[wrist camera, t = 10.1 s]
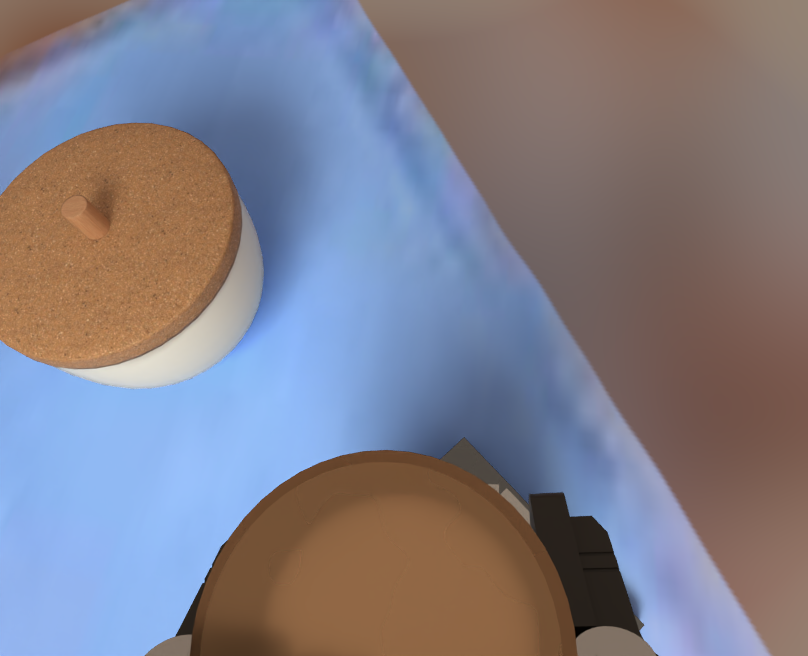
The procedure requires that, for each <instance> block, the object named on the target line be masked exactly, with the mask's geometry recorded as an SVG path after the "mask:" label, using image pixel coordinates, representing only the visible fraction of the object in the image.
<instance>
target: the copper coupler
mask: <svg viewBox="0 0 808 656" xmlns="http://www.w3.org/2000/svg"><path fill="white" fill-rule="evenodd" d="M190 656H578V654H577V646H576V637H575V629H574V624H573V620H572V615H571V611H570V607H569V603H568V599H567V596H566V593H565V591H564V588H563V585H562V582H561V580H560V577H559V574H558V572H557V570H556V568H555V566H554V564H553V562H552V560H551V558H550V556H549V554H548V552H547V550H546V548H545V547H544V545H543V544H542V542H541V541H540V539H539V538H538V536H537V535H536V533H535V532H534V530H533V529H532V527H531V526H530V525H529V523H528V522H527V521H526V520H525V519H524V518H523V517H522V515H521V514H520V513H519V512H518V511H517V510H516V509H515V507H514V506H513V505H512V504H511V503H509V502H508V501H507V500H506V499H505V498H504V497H503V496H502V495H501V494H499V493H498V492H497V491H496V490H495V489H494V488H492V487H491V486H489V485H488V484H486V483H485V482H483V481H482V480H481V479H479V478H478V477H476V476H475V475H473V474H471V473H469V472H467V471H465V470H463V469H461V468H459V467H457V466H455V465H453V464H451V463H448V462H445V461H442V460H439V459H437V458H434V457H431V456H426V455H421V454H417V453H412V452H404V451H392V450H379V451H363V452H358V453H353V454H347V455H342V456H339V457H336V458H333V459H330V460H327V461H323V462H320V463H318V464H316V465H314V466H312V467H310V468H308V469H306V470H303V471H301V472H299V473H298V474H296V475H295V476H293V477H291V478H290V479H288V480H287V481H285V482H284V483H282V484H280V485H279V486H278V487H277V488H275V489H274V490H273V491H272V492H271V493H269V494H268V495H267V496H266V497H264V498H263V499H262V500H261V501H260V502H259V503H258V504H257V505H256V506H255V507H254V508H253V509H252V510H251V511H250V512H249V513H248V514H247V516H246V517H245V518H244V519H243V520H242V522H241V523H240V524H239V526H238V527H237V528H236V530H235V531H234V532H233V533H232V535H231V536H230V537H229V539H228V541H227V543H226V544H225V546H224V548H223V549H222V551H221V553H220V554H219V556H218V558H217V559H216V562H215V564H214V566H213V568H212V570H211V572H210V575H209V577H208V579H207V581H206V584H205V587H204V590H203V593H202V596H201V599H200V602H199V605H198V608H197V613H196V618H195V622H194V627H193V632H192V639H191V649H190Z"/></svg>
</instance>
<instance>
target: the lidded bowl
mask: <svg viewBox="0 0 808 656" xmlns="http://www.w3.org/2000/svg"><path fill="white" fill-rule="evenodd" d="M263 277H264V268H263V257H262V252H261V247H260V243H259V239H258V235H257V232H256V229H255V227H254V224H253V222H252V219H251V217H250V215H249V213H248V211H247V209H246V207H245V205H244V203H243V201H242V199H241V198H240V196H239V194H238V192H237V189H236V187H235V185H234V183H233V181H232V179H231V177H230V175H229V173H228V171H227V169H226V168H225V166H224V165H223V164H222V162H221V161H220V160H219V158H218V157H217V156H216V154H215V153H214V152H213V151H212V150H211V149H210V148H209V147H208V146H206V145H205V144H204V143H203V142H202V141H200V140H199V139H197V138H195V137H193V136H192V135H190V134H188V133H186V132H183V131H181V130H178V129H175V128H172V127H168V126H163V125H158V124H153V123H127V124H116V125H111V126H107V127H103V128H99V129H95V130H92V131H89V132H86V133H83V134H80V135H78V136H76V137H74V138H72V139H70V140H68V141H66V142H64V143H62V144H60V145H58V146H56V147H55V148H53V149H51V150H50V151H48V152H46V153H45V154H43V155H42V156H41V157H39V158H38V159H37V160H36V161H34V162H33V163H32V164H31V165H29V166H28V167H27V168H26V169H25V170H24V171H23V172H22V173H20V174H19V175H18V176H17V177H16V178H15V179H14V180H13V181H12V182H11V184H10V185H9V186H8V187H7V188H6V190H5V191H4V192H3V193H2V195H1V196H0V340H1V341H2V342H4V343H5V344H6V345H7V346H9V347H11V348H13V349H14V350H16V351H18V352H20V353H22V354H23V355H25V356H27V357H29V358H31V359H33V360H35V361H38V362H41V363H45V364H48V365H51V366H53V367H55V368H57V369H59V370H62V371H64V372H66V373H68V374H70V375H73V376H76V377H79V378H82V379H85V380H89V381H92V382H95V383H98V384H102V385H107V386H114V387H121V388H129V389H150V388H158V387H164V386H169V385H174V384H177V383H180V382H183V381H186V380H189V379H192V378H193V377H195V376H197V375H199V374H201V373H203V372H205V371H207V370H208V369H210V368H211V367H213V366H214V365H216V364H217V363H219V362H220V361H221V360H222V359H224V358H225V357H226V356H227V355H228V354H229V353H230V352H231V351H232V350H233V349H234V348H235V347H236V346H237V344H238V343H239V342H240V341H241V340H242V338H243V337H244V335H245V333H246V332H247V330H248V329H249V327H250V325H251V324H252V321H253V319H254V317H255V315H256V312H257V310H258V307H259V303H260V300H261V296H262V288H263Z"/></svg>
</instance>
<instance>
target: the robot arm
mask: <svg viewBox="0 0 808 656" xmlns="http://www.w3.org/2000/svg"><path fill="white" fill-rule="evenodd" d="M529 513H530V526H531V527H532V529H533V530H534V532H535V533H536V535H537V536H538V538H539V539H540V541H541V542H542V544H543V545H544V547H545V548H546V550H547V552H548V554H549V556H550V558H551V560H552V562H553V564H554V566H555V568H556V570H557V572H558V574H559V577H560V580H561V582H562V585H563V588H564V591H565V593H566V596H567V599H568V603H569V607H570V611H571V615H572V620H573V624H574V629H575V637H576V646H577V654H578V656H658V655H657V654H656V653H655V652H654V651H653V649H652V648H651V647H650V646H649V645H648V643H647V642H645V641H644V639H643V638H642V636H641V634H640V631H639V628H638V625H637V622H636V619H635V616H634V613H633V610H632V607H631V604H630V601H629V597H628V594H627V591H626V588H625V585H624V582H623V579H622V576H621V573H620V571H619V567H618V563H617V560H616V557H615V555H614V551H613V548H612V545H611V542H610V539H609V536H608V532H607V531H606V530H605V529H604V528H603V527H602V526H601V525H600V524H599V523H598V522H597V521H596V520H595V519H594V518H593V517H592V516H578V517H570V516H569V512H568V508H567V504H566V500H565V496H564V493H563V492H561V493H539V494H529ZM227 541H228V540H227ZM227 541H226V542H225V543H224V544H223V545H222V546H221V548H220V550H219V552H218V554H217V556H216V558H215V560H214V562H213V564H212V568H213V566H214V564H215V562H216V559H217V558H218V556H219V554H220V553H221V551H222V549H223V548H224V546H225V544H226V543H227ZM212 568H210V570H209V572H208V574H207V576H206V578H205V582H204V583H202V585H201V587H200V589H199V591H198V593H197V595H196V597H195V599H194V601H193V603H192V605H191V607H190V609H189V611H188V613H187V615H186V617H185V619H184V621H183V623H182V625H181V627H180V629H179V630H178V632H177V634H176V636H175V637H173V638H170V639H168V640H166V641H164V642H162V643H160V644H158V645H157V646H155V647H154V648H153V649H151V650H150V651H149V652H148V653H147V654H146V655H145V656H190V649H191V639H192V632H193V627H194V622H195V618H196V613H197V608H198V605H199V602H200V599H201V596H202V593H203V590H204V587H205V584H206V581H207V579H208V577H209V575H210V572H211V570H212Z"/></svg>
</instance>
